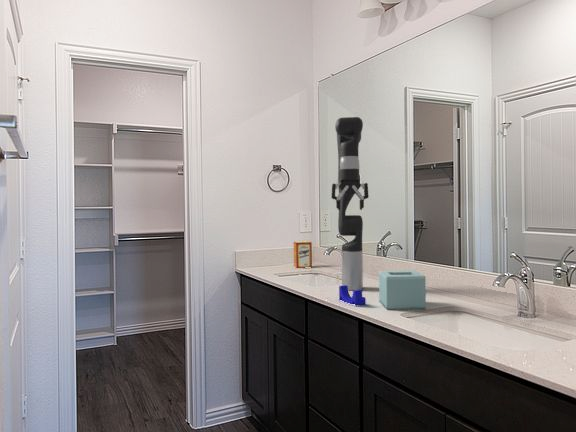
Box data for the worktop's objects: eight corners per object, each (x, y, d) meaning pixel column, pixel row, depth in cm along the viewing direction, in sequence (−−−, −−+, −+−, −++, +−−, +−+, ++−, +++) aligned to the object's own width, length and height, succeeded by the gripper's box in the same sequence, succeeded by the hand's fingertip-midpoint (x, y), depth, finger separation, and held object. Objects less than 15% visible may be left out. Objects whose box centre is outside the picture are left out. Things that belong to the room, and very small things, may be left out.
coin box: (379, 301, 176) (379, 271, 176) (415, 301, 176) (414, 270, 176) (386, 309, 162) (386, 276, 162) (425, 309, 162) (425, 276, 162)
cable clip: (365, 305, 170) (365, 289, 170) (355, 306, 169) (355, 291, 169) (348, 299, 181) (348, 284, 181) (339, 300, 180) (339, 285, 180)
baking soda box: (308, 266, 278) (308, 240, 278) (311, 268, 272) (311, 241, 271) (293, 267, 276) (293, 241, 275) (296, 268, 269) (296, 242, 269)
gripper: (366, 169, 180) (366, 209, 180) (330, 169, 180) (331, 210, 181) (369, 167, 172) (369, 209, 173) (332, 168, 173) (332, 210, 173)
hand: (350, 209), depth 177 cm, fingers open, 8 cm apart
